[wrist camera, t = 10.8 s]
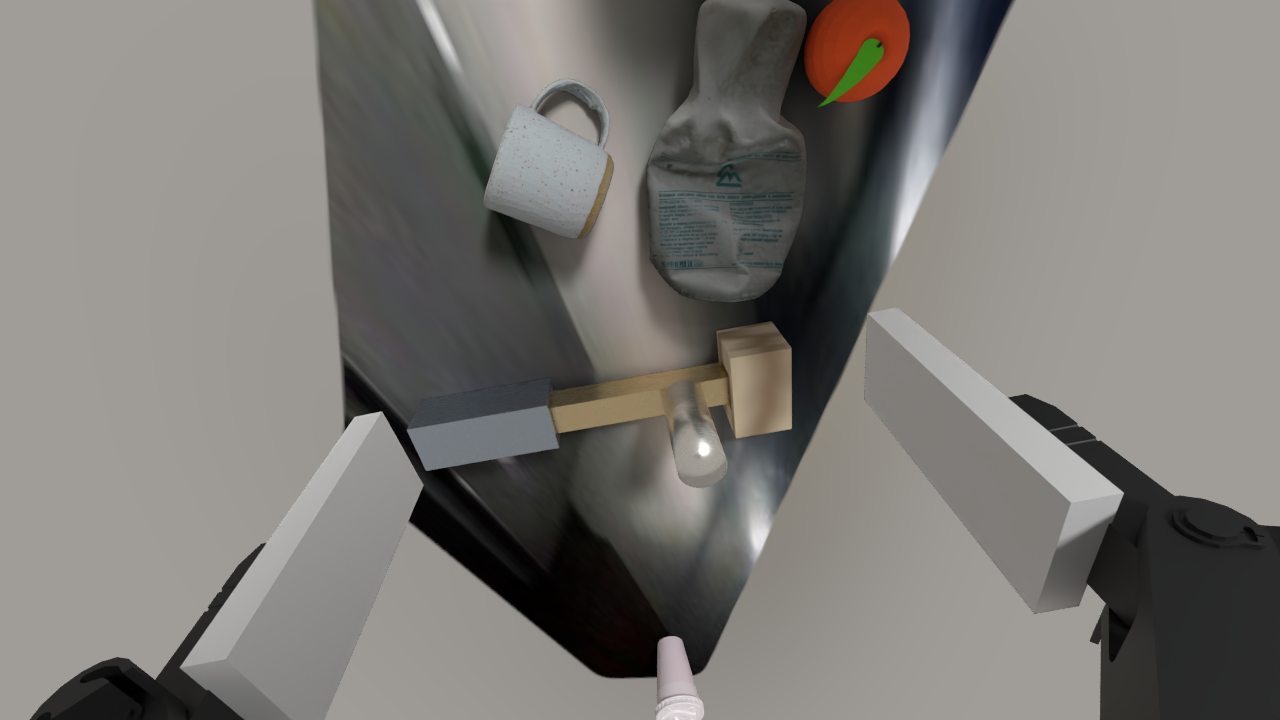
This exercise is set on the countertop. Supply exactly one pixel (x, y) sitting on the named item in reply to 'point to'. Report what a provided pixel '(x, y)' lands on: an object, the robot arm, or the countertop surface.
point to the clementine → (856, 48)
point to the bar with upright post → (658, 413)
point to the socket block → (757, 378)
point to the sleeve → (484, 424)
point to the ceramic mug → (551, 168)
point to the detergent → (730, 157)
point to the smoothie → (675, 683)
